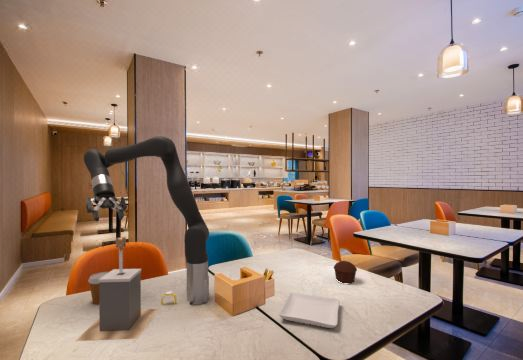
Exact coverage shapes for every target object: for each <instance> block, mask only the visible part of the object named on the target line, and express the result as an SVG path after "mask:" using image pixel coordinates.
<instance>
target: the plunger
mask: <svg viewBox="0 0 523 360" xmlns="http://www.w3.org/2000/svg"><path fill="white" fill-rule="evenodd" d="M126 241H127V238H126V236H123V237H119V236H118V237H116V238H115V248H118V263H119V264H118V269H119V275H123V269H124V253H123V252H124V250H123V249H124V247H126V246H127V243H126Z"/></svg>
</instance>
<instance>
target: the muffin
mask: <svg viewBox="0 0 523 360" xmlns="http://www.w3.org/2000/svg"><path fill="white" fill-rule="evenodd" d="M333 269H334V274H335V280H336V279H337V280H338V281H340V282H342V283H352V282H354V283H355V281H356V273H357V272H358V269H357V267H356V266H355V264H354V263H352V262H350V261H348V260H340V261H338V262H336V263H335V264H334V266H333ZM337 280H336V281H337ZM338 281H337V282H338ZM342 283H341V284H342Z"/></svg>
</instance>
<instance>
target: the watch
mask: <svg viewBox="0 0 523 360" xmlns="http://www.w3.org/2000/svg"><path fill="white" fill-rule="evenodd" d="M166 296H173V299H174V303H173V305H176V302H177V295H176V294H175V293H173V291H171V290H169V291H166V292H165V293H164V294H163V296H162V297H161V299H160V302H161V303H160V304H161V305H162V306H164V305H165V303H164V301H163V299H164V297H166Z"/></svg>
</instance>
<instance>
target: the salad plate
mask: <svg viewBox="0 0 523 360" xmlns="http://www.w3.org/2000/svg"><path fill="white" fill-rule="evenodd" d="M340 303H341V300H340V299H337V298H330V297H323V296H319V295H311V294H306V293H305V294H304V293H297V292H290V293H289V294H288V297H287V298H286V300H285V302H284V304H283V305H282V307H281V309H280V310H279V312H278V316H279V317H280V318H281V319H283V320H287V321H291V322H293V321H295V322H294V323H298V322H300V323H299V324H303V323H305V324H304V325H309V324H311V325H310V326H315V325H316V326H315V327H320V326H321V328H322V327H323V328H327V329H333V328H335V327H337V326H338V322H339V310H340V309H339V308H340Z"/></svg>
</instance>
